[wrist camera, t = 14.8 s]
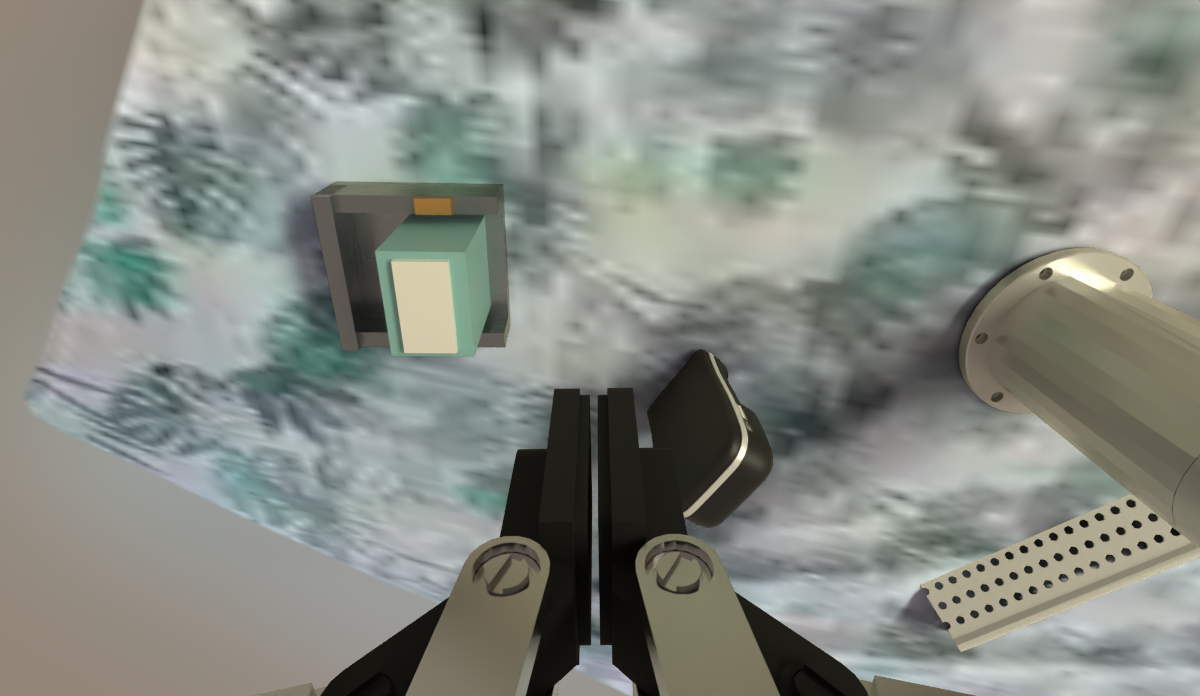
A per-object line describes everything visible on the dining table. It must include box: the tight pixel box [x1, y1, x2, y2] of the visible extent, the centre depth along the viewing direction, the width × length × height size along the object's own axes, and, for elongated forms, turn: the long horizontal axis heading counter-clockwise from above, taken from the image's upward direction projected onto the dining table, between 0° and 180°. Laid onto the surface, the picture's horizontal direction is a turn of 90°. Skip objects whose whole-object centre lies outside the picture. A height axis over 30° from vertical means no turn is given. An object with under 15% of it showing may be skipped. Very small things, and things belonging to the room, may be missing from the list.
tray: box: [311, 182, 510, 350], centre depth 36 cm, size 10×10×4 cm
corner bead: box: [920, 494, 1200, 652], centre depth 50 cm, size 31×9×5 cm, turn 124°
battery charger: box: [647, 349, 773, 528], centre depth 38 cm, size 7×4×11 cm, turn 146°
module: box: [375, 214, 491, 356], centre depth 34 cm, size 4×6×7 cm
